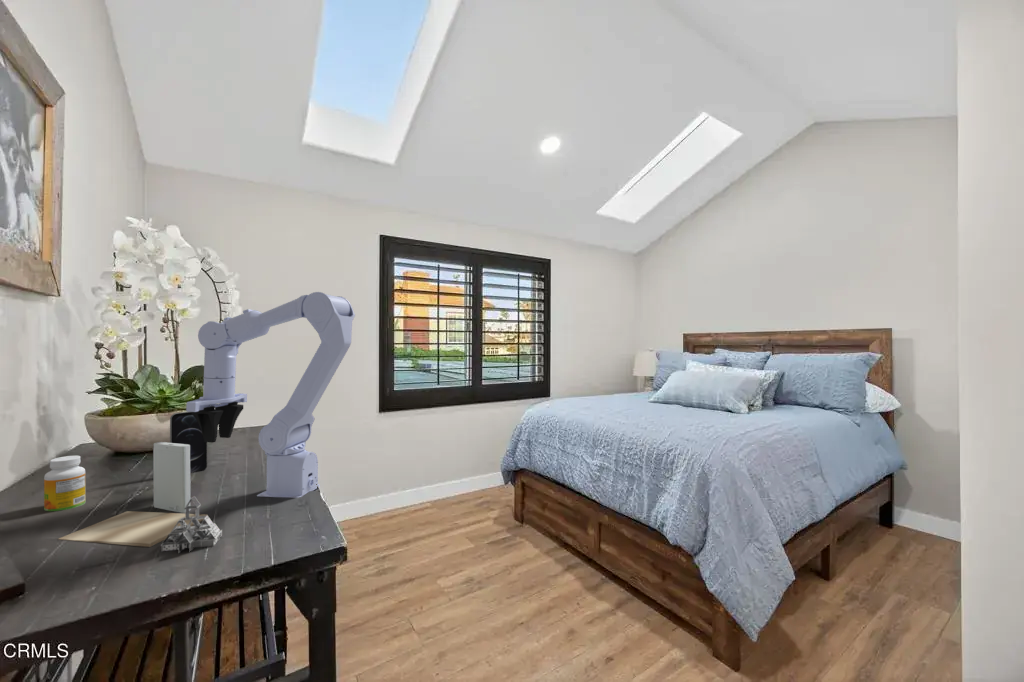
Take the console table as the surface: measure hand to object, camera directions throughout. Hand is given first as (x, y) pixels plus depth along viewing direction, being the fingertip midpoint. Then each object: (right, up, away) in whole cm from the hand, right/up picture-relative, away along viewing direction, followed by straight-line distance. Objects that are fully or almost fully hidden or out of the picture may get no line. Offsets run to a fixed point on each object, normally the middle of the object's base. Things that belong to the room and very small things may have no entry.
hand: (217, 439), depth 92 cm
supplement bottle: (-20, -11, -12) cm, 26 cm away
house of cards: (+14, -11, -28) cm, 33 cm away
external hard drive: (0, -11, -12) cm, 16 cm away
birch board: (+1, -10, -21) cm, 23 cm away
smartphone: (-13, -11, +9) cm, 19 cm away
